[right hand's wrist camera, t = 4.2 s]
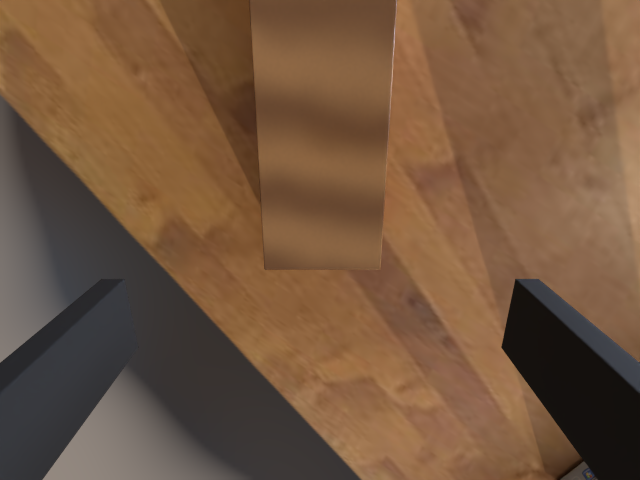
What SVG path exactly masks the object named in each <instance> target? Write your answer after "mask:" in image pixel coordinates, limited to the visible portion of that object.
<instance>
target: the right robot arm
mask: <svg viewBox="0 0 640 480" xmlns="http://www.w3.org/2000/svg"><path fill="white" fill-rule="evenodd" d="M137 349H138V343H137V338H136V333H135V328H134V323H133V318H132V313H131V309H130V304H129V299H128V294H127V289H126V284H125V280H124V279H101V280H100V281H99V282H97V283H96V284H95V285H94V286H93V287H91V288H90V289H89V290H88V291H87V292H85V293H84V294H83V295H82V296H81V297H79V298H78V299H77V300H76V301H75V302H73V303H72V304H71V305H70V306H68V307H67V308H66V309H65V310H64V311H63V312H61V313H60V314H59V315H58V316H56V317H55V318H54V319H53V320H52V321H50V322H49V323H48V324H47V325H46V326H44V327H43V328H42V329H41V330H40V331H38V332H37V333H36V334H35V335H34V336H32V337H31V338H30V339H29V340H27V341H26V342H25V343H24V344H23V345H21V346H20V347H19V348H18V349H17V350H15V351H14V352H13V353H12V354H11V355H9V356H8V357H7V358H6V359H5V360H3V361H2V362H1V363H0V480H42V479H43V478H44V477H45V475H46V474H47V473H48V471H49V470H50V468H51V467H52V466H53V464H54V463H55V462H56V460H57V459H58V457H59V456H60V455H61V453H62V452H63V451H64V449H65V448H66V446H67V445H68V444H69V442H70V441H71V440H72V438H73V437H74V435H75V434H76V433H77V431H78V430H79V429H80V427H81V426H82V425H83V423H84V422H85V420H86V419H87V418H88V416H89V415H90V413H91V412H92V411H93V409H94V408H95V407H96V405H97V404H98V402H99V401H100V400H101V398H102V397H103V396H104V394H105V393H106V392H107V390H108V389H109V387H110V386H111V385H112V383H113V382H114V381H115V379H116V378H117V376H118V375H119V374H120V372H121V371H122V369H123V368H124V367H125V365H126V364H127V363H128V361H129V360H130V359H131V357H132V356H133V354H134V353H135V352H136V350H137ZM502 349H503V350H504V352H505V353H506V354H507V356H508V357H509V359H510V360H511V361H512V363H513V364H514V365H515V367H516V368H517V370H518V371H519V372H520V374H521V375H522V376H523V378H524V379H525V381H526V382H527V383H528V385H529V386H530V387H531V389H532V390H533V392H534V393H535V394H536V396H537V397H538V398H539V400H540V401H541V403H542V404H543V405H544V407H545V408H546V409H547V411H548V412H549V414H550V415H551V416H552V418H553V419H554V420H555V422H556V423H557V425H558V426H559V427H560V429H561V430H562V431H563V433H564V434H565V435H566V437H567V438H568V440H569V441H570V442H571V444H572V445H573V446H574V448H575V449H576V451H577V452H578V453H579V455H580V456H581V457H582V459H583V460H584V462H585V463H586V464H587V466H588V467H589V468H590V470H591V471H592V473H593V474H594V475H595V477H596V478H597V479H598V480H640V362H638V361H637V360H636V359H634V358H633V357H632V356H631V355H629V354H628V353H627V352H626V351H625V350H623V349H622V348H621V347H620V346H619V345H617V344H616V343H615V342H614V341H613V340H611V339H610V338H609V337H608V336H607V335H605V334H604V333H603V332H602V331H601V330H599V329H598V328H597V327H596V326H594V325H593V324H592V323H591V322H590V321H588V320H587V319H586V318H585V317H584V316H582V315H581V314H580V313H579V312H578V311H576V310H575V309H574V308H573V307H572V306H570V305H569V304H568V303H567V302H565V301H564V300H563V299H562V298H561V297H559V296H558V295H557V294H556V293H555V292H553V291H552V290H551V289H550V288H549V287H547V286H546V285H545V284H544V283H543V282H541V281H540V280H539V279H515V284H514V289H513V294H512V299H511V304H510V309H509V313H508V318H507V323H506V328H505V333H504V338H503V343H502Z"/></svg>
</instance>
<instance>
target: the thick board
mask: <svg viewBox="0 0 640 480" xmlns="http://www.w3.org/2000/svg"><path fill="white" fill-rule="evenodd" d="M249 5H250V22H251V40H252V57H253V75H254V92H255V110H256V127H257V145H258V162H259V180H260V197H261V215H262V232H263V250H264V267H265V270H380V266H381V250H382V234H383V218H384V202H385V186H386V170H387V154H388V138H389V122H390V106H391V90H392V74H393V58H394V42H395V25H396V9H397V0H249Z"/></svg>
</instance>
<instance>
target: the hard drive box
mask: <svg viewBox="0 0 640 480" xmlns="http://www.w3.org/2000/svg"><path fill="white" fill-rule="evenodd" d="M560 480H598V479H597V478H596V477H595V475H594V474H593V473H592V471H591V470H590V468H589V467H588V466H587V464H586V463H585V462H584V461H583V462H582V463H581V464H580V465H578V466H577V467H576V468H575V469H573V470H572V471H571V472H569V473H568V474H567V475H566V476H564V477H563V478H562V479H560Z"/></svg>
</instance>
